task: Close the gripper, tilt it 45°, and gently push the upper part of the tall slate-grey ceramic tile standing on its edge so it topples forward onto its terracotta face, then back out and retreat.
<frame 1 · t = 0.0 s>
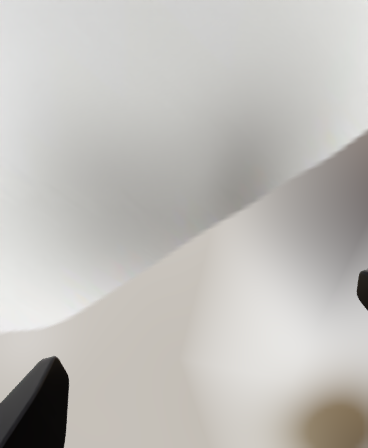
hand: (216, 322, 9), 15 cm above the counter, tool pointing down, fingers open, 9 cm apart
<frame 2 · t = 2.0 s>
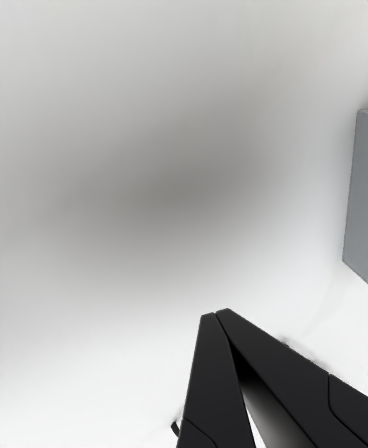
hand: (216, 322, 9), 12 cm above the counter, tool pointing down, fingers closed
tile: (358, 193, 23), on the counter
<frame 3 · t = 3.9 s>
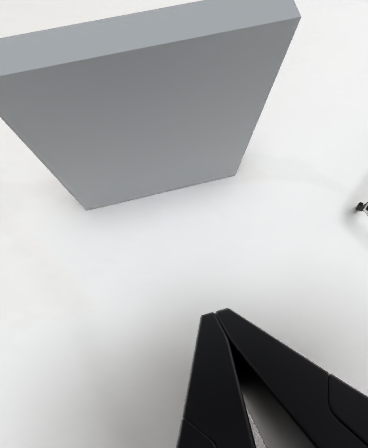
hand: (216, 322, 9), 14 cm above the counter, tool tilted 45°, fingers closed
tile: (159, 183, 25), on the counter
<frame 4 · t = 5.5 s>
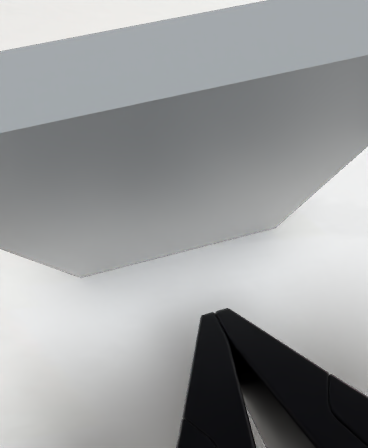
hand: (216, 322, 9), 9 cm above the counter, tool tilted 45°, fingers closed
tile: (177, 239, 19), on the counter
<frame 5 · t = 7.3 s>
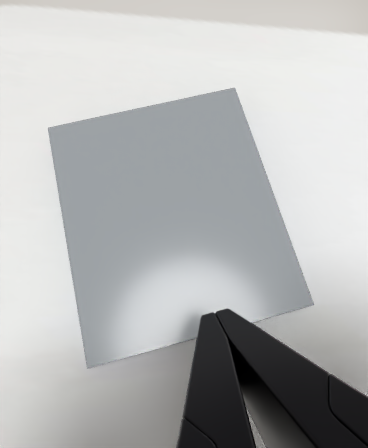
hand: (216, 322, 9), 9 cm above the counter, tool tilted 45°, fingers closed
tile: (203, 334, 17), point 1 cm above the counter, tilted 90°
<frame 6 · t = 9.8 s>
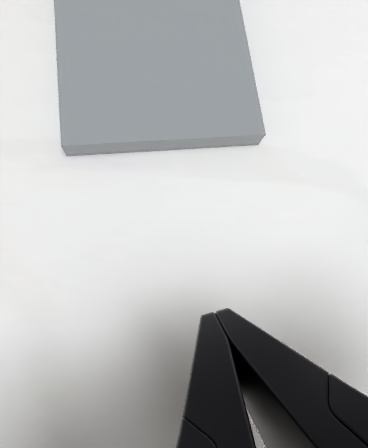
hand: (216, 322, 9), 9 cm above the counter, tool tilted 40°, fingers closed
tile: (167, 146, 19), on the counter, tilted 90°
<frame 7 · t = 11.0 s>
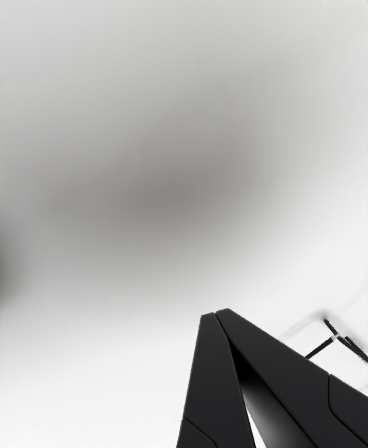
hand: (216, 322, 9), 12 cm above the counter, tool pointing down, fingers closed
eyeglasses: (294, 380, 34), on the counter
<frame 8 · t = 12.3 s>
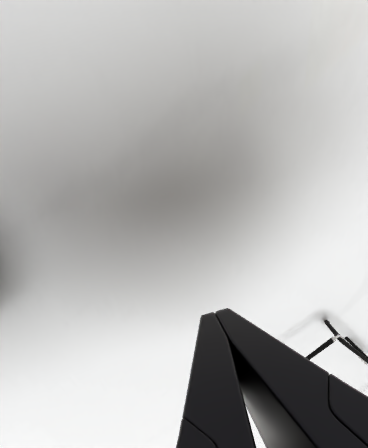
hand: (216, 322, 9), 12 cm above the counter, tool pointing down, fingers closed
eyeglasses: (294, 380, 34), on the counter
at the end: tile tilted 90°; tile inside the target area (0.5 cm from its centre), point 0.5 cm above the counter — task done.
